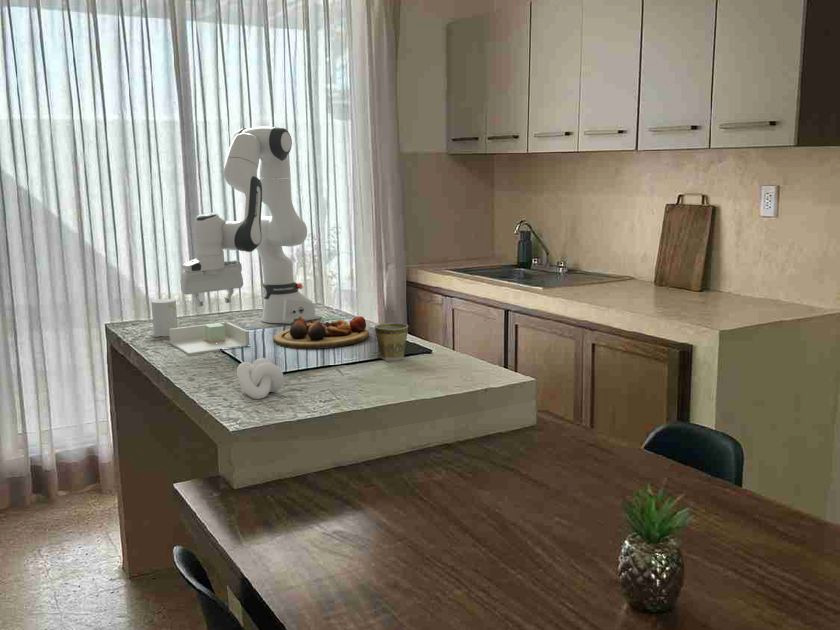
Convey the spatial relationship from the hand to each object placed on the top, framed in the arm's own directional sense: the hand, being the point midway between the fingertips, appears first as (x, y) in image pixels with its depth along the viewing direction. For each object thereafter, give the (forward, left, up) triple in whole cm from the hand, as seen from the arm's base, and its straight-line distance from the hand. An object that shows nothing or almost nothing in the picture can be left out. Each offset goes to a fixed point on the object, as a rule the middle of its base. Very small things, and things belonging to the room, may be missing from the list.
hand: (214, 304), depth 272 cm
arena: (+3, +3, -13) cm, 14 cm away
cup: (+10, -23, -13) cm, 28 cm away
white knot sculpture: (+11, +69, -13) cm, 71 cm away
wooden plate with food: (-31, +17, -13) cm, 37 cm away
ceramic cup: (-37, +54, -13) cm, 67 cm away
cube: (0, 0, -12) cm, 12 cm away
